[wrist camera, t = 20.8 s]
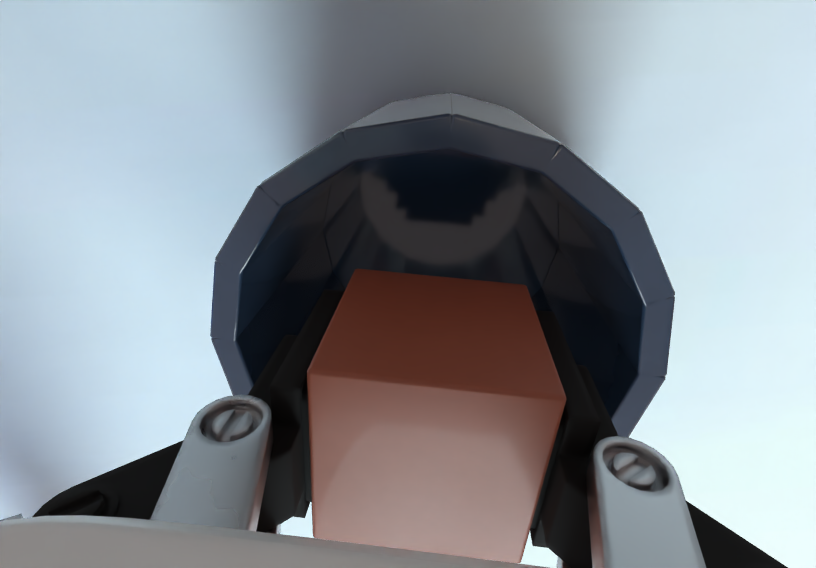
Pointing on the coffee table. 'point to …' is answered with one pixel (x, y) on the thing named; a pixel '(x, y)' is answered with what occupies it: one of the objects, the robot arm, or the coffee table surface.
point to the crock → (450, 239)
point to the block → (431, 416)
